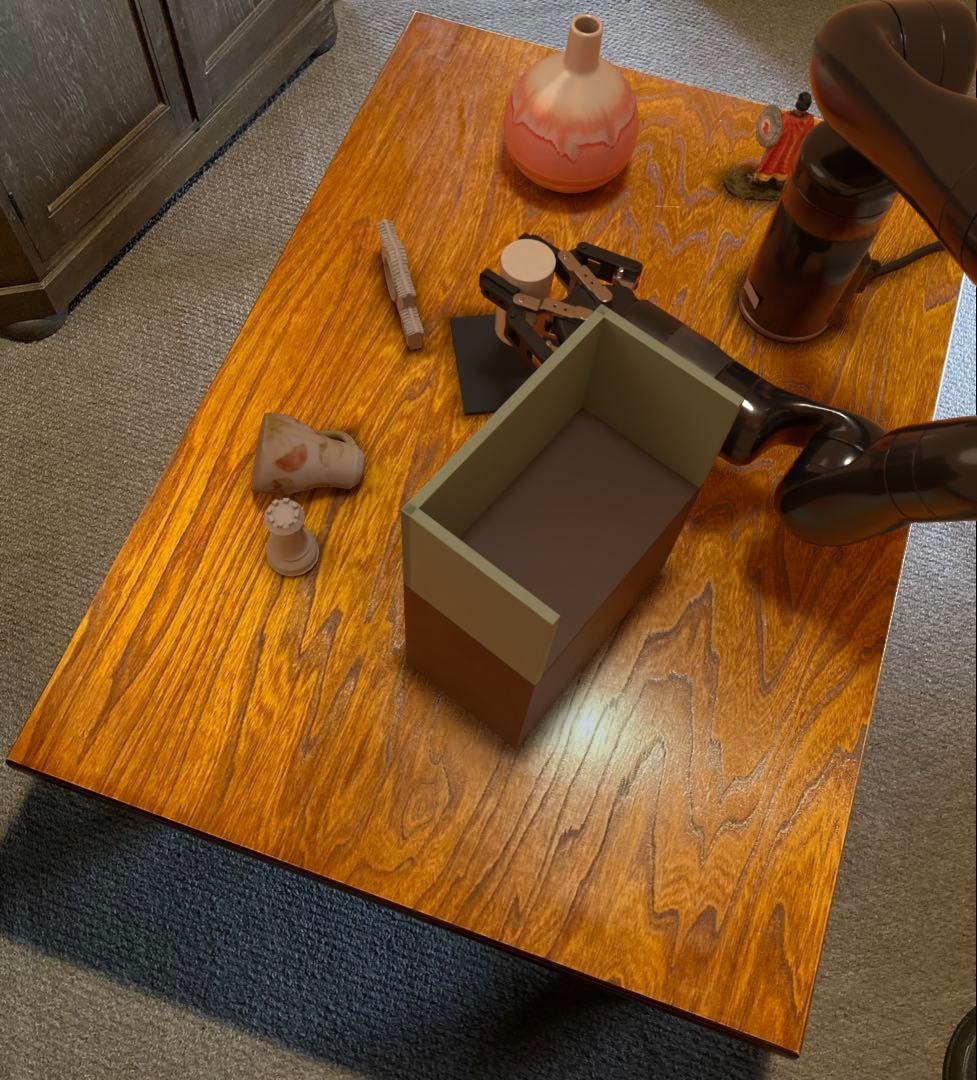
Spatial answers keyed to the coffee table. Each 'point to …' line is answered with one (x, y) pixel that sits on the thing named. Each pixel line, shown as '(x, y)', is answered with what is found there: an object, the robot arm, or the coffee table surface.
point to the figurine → (773, 151)
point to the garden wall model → (400, 283)
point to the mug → (303, 457)
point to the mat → (487, 364)
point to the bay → (556, 519)
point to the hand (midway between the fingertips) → (501, 260)
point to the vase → (572, 115)
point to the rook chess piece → (289, 539)
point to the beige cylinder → (526, 273)
